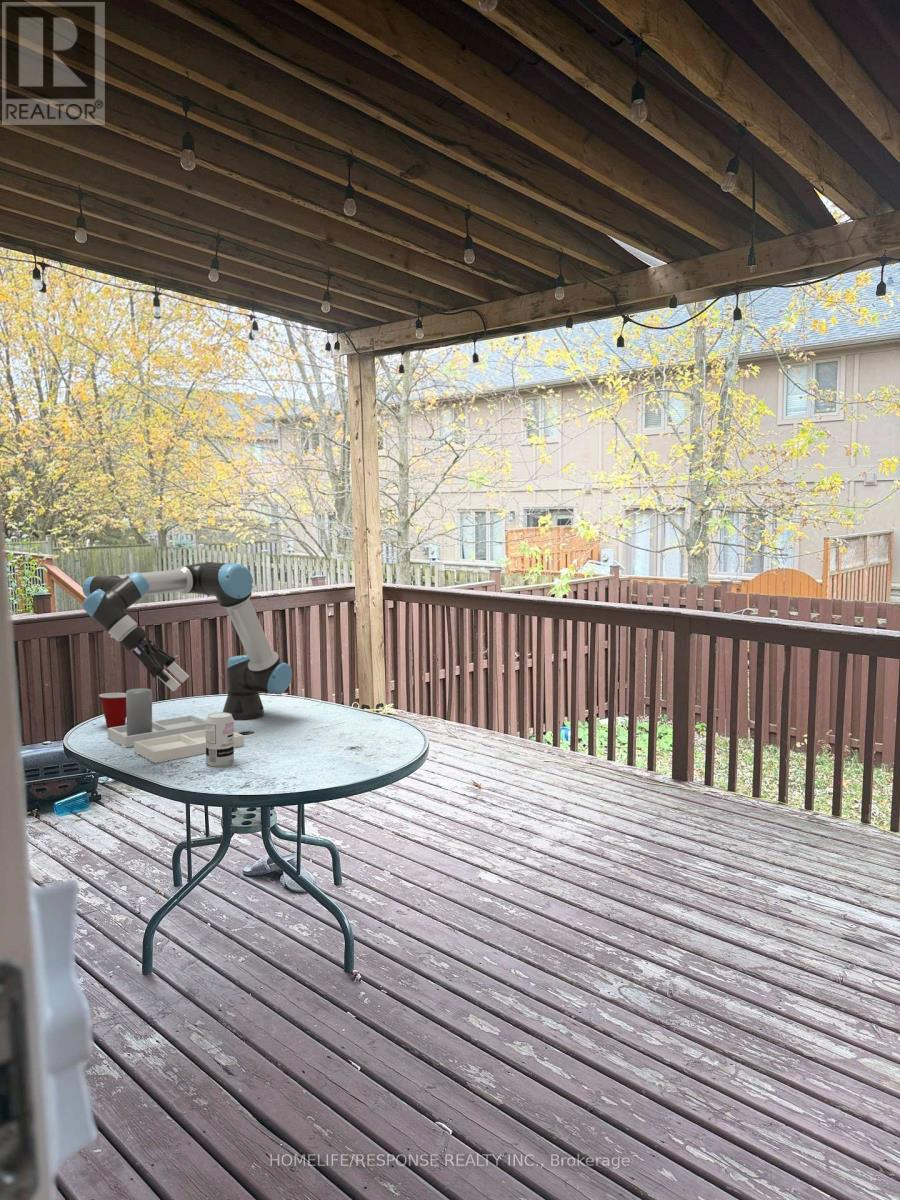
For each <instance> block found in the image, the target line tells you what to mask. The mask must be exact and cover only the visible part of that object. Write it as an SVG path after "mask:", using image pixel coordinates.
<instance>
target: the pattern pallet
mask: <svg viewBox="0 0 900 1200" xmlns="http://www.w3.org/2000/svg"><path fill="white" fill-rule="evenodd" d="M125 693H126V711H127V717H126V724H125V725H124V726H118V727H112V728H107V739H108V738H109V739H108V740H110V739H111V740H110V741H112V740H113V741H112V742H114V741H115V742H114V743H116V742H117V743H116V744H118V743H119V744H121V745H123V746H125V747H128V746H133V747H134V742H136V741H142V740H147V739H153V738H159V737H165V736H170V735H176V734H182V733H188V732H193V731H199V730H205V729H206V719H204V718H200V717H199V716H197V715H194V714H189V715H182V716H177V717H176V716H175V717H169V718H163V719H156V720H153V690H152V689H151V688H146V687H143V688H142V687H141V688H131V689H127V690H126V692H125ZM119 744H118V745H119ZM121 745H120V746H121ZM123 746H122V747H123ZM125 747H124V748H125ZM128 748H129V747H128Z"/></svg>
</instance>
